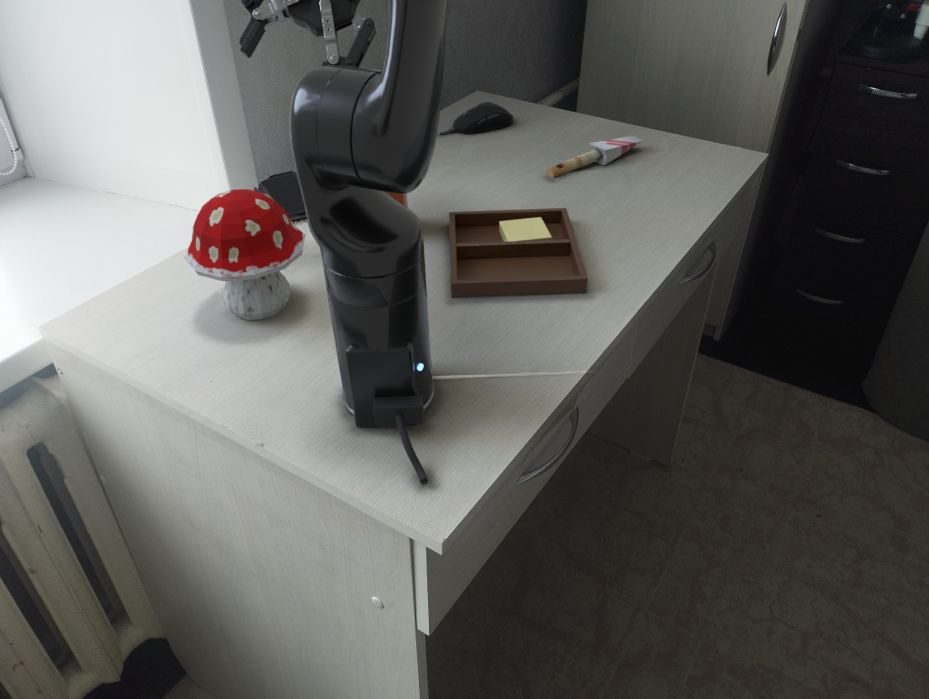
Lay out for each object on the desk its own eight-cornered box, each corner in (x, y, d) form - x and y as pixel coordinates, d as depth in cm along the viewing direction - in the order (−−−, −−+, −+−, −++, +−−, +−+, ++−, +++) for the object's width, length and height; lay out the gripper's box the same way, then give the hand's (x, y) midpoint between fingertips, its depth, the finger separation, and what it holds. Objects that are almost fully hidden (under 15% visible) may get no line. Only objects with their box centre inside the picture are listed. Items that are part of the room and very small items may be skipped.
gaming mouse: (432, 129, 138) (431, 108, 136) (502, 114, 144) (502, 93, 141) (448, 140, 134) (447, 118, 132) (519, 124, 139) (519, 103, 137)
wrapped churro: (647, 133, 126) (557, 169, 117) (645, 148, 128) (557, 185, 119) (630, 126, 129) (541, 161, 120) (629, 141, 130) (541, 177, 122)
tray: (586, 296, 93) (587, 278, 91) (451, 300, 92) (450, 283, 91) (565, 223, 108) (566, 207, 106) (449, 227, 108) (449, 211, 106)
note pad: (551, 246, 101) (552, 237, 101) (508, 251, 101) (508, 241, 100) (540, 226, 106) (541, 216, 105) (499, 230, 106) (499, 221, 105)
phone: (298, 169, 122) (328, 205, 112) (299, 175, 123) (329, 212, 112) (250, 179, 120) (276, 217, 109) (252, 186, 120) (277, 224, 110)
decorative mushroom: (305, 267, 100) (286, 160, 91) (327, 323, 89) (308, 208, 80) (197, 289, 96) (165, 180, 87) (206, 350, 86) (172, 233, 76)
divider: (569, 255, 100) (570, 242, 98) (456, 259, 99) (456, 246, 98) (568, 252, 100) (569, 239, 99) (456, 256, 100) (456, 243, 99)
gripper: (287, -105, 80) (212, 29, 80) (403, -34, 81) (329, 98, 81) (299, -70, 87) (230, 52, 88) (406, -5, 88) (337, 116, 89)
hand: (278, 74), depth 85 cm, fingers open, 8 cm apart
